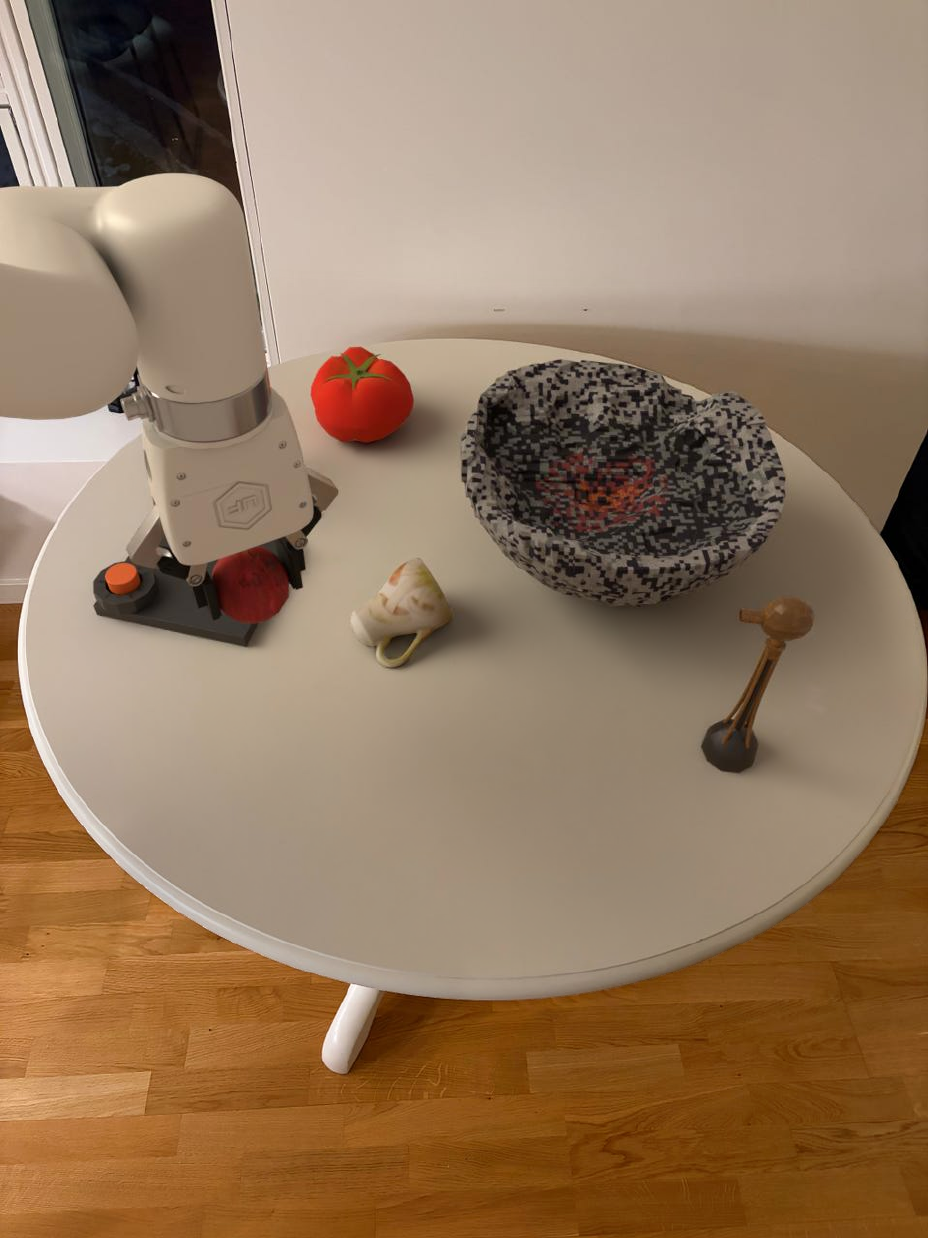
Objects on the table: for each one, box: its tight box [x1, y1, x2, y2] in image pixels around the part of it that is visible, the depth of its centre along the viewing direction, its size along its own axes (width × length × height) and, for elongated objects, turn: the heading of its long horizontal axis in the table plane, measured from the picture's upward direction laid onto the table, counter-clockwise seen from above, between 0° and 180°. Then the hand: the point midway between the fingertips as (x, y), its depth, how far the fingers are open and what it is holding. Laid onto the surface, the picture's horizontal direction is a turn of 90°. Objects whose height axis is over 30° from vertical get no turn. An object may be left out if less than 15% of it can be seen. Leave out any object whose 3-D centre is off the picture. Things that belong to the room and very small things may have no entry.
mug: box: [349, 557, 455, 668], centre depth 88 cm, size 8×10×10 cm
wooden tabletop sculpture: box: [700, 596, 816, 774], centre depth 74 cm, size 6×5×20 cm
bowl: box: [460, 358, 787, 607], centre depth 92 cm, size 31×31×15 cm
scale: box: [92, 536, 278, 648], centre depth 92 cm, size 16×14×3 cm
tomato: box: [310, 346, 415, 443], centre depth 108 cm, size 13×12×8 cm
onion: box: [212, 546, 290, 624], centre depth 68 cm, size 6×6×8 cm
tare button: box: [105, 563, 140, 595], centre depth 89 cm, size 3×3×2 cm
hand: (251, 590), depth 69 cm, fingers closed on onion, 5 cm apart
